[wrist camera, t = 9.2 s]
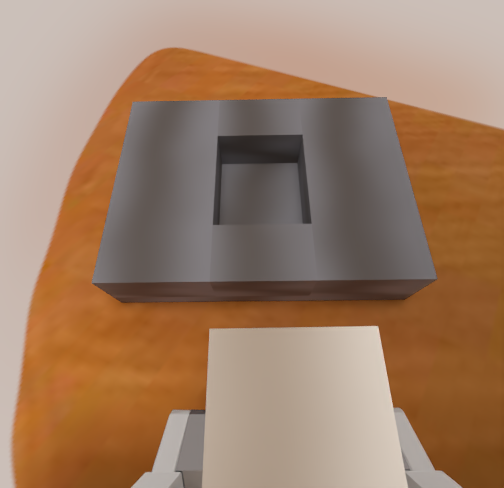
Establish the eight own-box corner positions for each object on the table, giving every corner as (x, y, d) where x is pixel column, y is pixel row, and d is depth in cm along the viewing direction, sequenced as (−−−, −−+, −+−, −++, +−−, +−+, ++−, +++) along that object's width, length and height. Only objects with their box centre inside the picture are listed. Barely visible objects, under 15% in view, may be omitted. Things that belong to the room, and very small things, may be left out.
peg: (308, 364, 14) (378, 326, 5) (317, 475, 12) (440, 662, 4) (240, 365, 14) (209, 328, 6) (240, 476, 12) (193, 660, 4)
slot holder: (368, 138, 22) (386, 97, 19) (404, 299, 17) (437, 279, 14) (150, 142, 23) (132, 101, 19) (121, 302, 17) (91, 283, 14)
